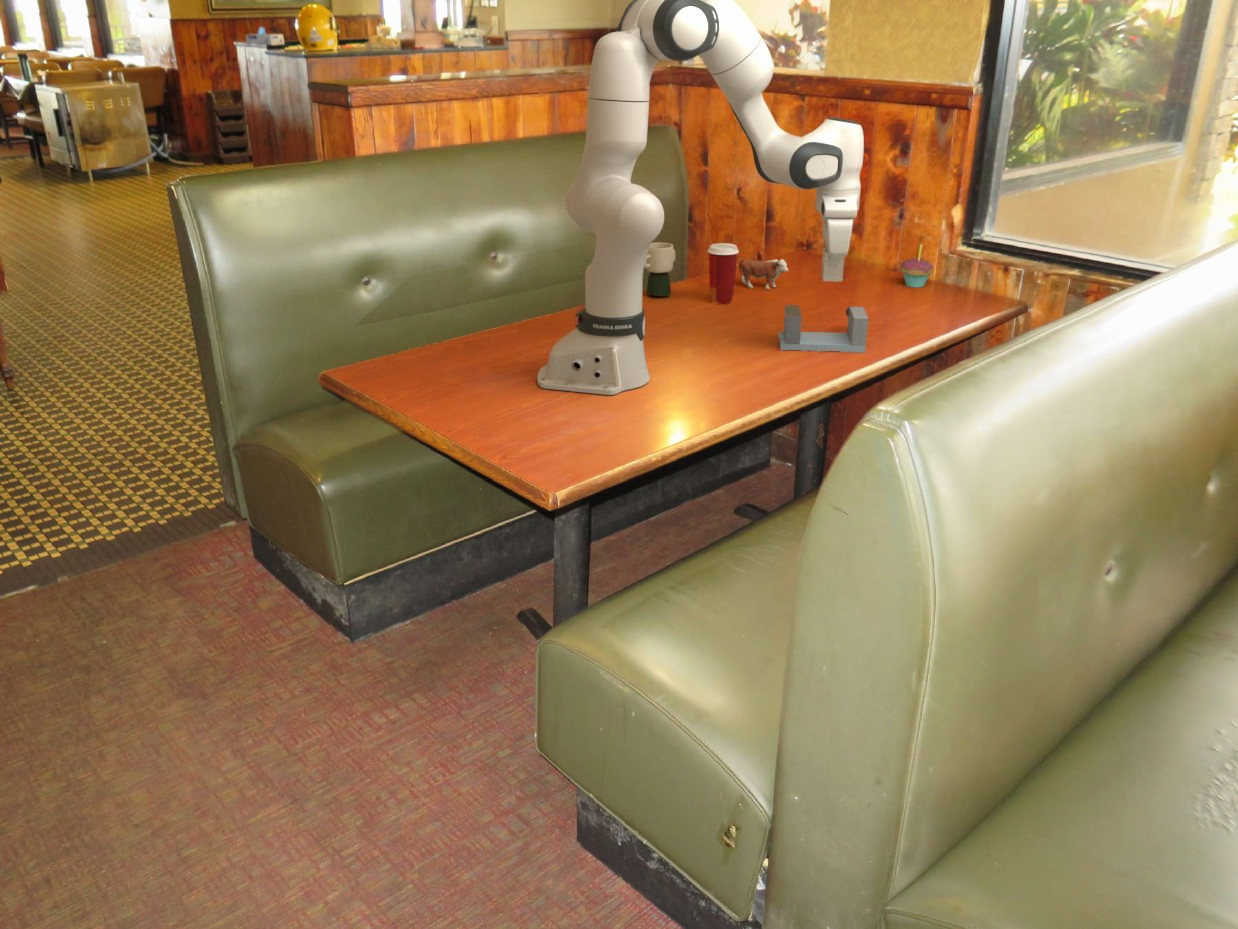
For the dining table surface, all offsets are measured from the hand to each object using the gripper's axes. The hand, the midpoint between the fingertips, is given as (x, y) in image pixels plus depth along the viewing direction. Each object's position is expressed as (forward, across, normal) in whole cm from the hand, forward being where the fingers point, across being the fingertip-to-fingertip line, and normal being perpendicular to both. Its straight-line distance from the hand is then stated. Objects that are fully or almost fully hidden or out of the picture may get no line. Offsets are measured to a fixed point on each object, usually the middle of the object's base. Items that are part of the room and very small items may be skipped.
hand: (832, 268), depth 210 cm
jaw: (+16, -2, -7) cm, 18 cm away
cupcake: (+18, -56, +27) cm, 65 cm away
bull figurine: (+18, -50, -13) cm, 54 cm away
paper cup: (+18, -35, -23) cm, 46 cm away
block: (+2, 0, 0) cm, 2 cm away
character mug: (+18, -39, -39) cm, 58 cm away
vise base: (+18, -6, -1) cm, 19 cm away
